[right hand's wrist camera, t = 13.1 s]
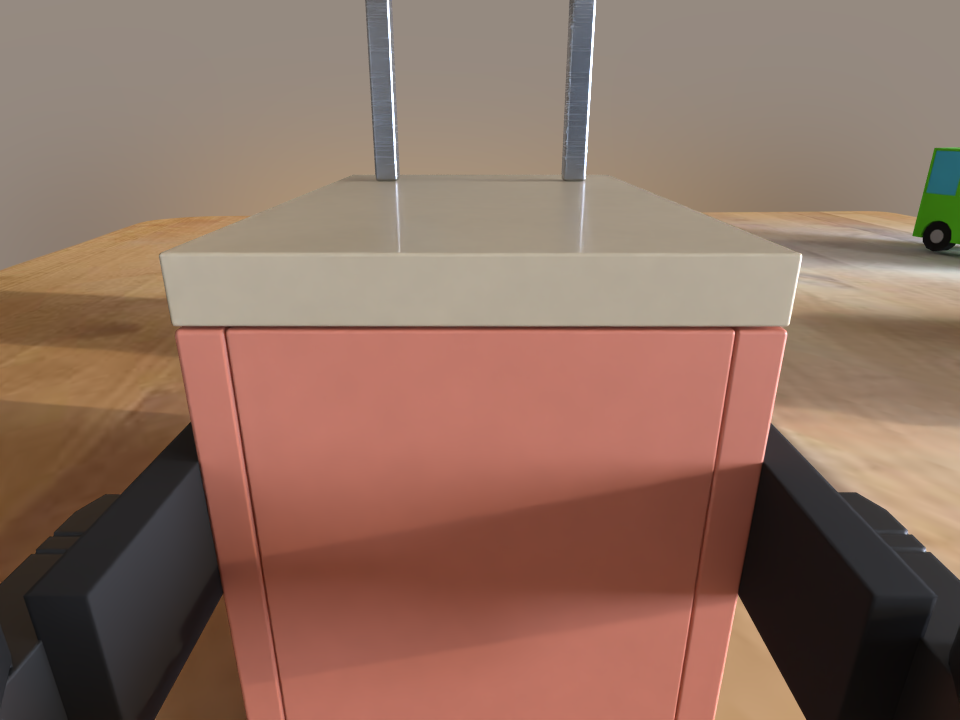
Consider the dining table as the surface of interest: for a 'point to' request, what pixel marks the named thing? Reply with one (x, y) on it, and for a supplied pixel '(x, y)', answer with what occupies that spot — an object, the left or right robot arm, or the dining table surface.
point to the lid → (480, 242)
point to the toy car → (941, 202)
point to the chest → (480, 514)
